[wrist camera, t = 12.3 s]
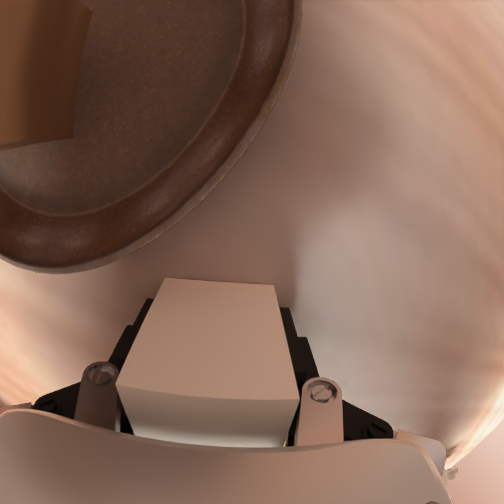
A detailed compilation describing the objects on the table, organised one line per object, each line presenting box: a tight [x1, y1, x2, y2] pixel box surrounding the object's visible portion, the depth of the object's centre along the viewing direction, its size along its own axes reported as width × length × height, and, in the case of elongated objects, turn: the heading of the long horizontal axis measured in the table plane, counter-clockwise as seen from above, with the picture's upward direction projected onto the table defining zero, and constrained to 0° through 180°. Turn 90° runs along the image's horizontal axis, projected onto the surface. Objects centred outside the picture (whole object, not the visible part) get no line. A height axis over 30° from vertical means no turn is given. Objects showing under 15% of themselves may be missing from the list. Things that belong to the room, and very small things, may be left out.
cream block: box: [115, 278, 300, 447], centre depth 9 cm, size 4×4×6 cm
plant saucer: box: [0, 0, 302, 274], centre depth 6 cm, size 18×18×3 cm
